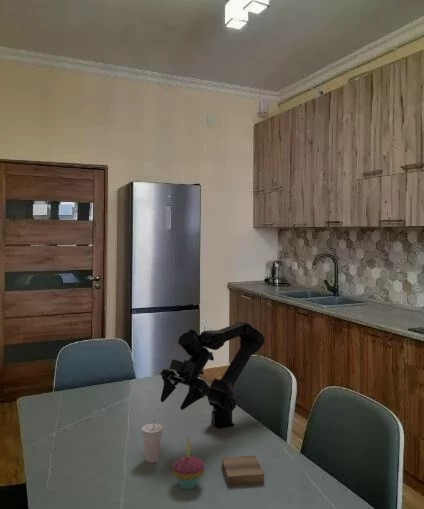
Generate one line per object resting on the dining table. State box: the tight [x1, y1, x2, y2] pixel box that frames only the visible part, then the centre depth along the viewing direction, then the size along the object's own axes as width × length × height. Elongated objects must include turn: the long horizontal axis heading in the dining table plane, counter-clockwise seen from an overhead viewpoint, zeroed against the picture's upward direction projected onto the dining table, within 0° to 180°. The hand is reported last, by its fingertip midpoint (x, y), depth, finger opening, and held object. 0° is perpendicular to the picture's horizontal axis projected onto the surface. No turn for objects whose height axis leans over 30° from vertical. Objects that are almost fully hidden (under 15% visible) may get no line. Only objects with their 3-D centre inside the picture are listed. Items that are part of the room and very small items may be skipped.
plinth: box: [221, 455, 265, 487], centre depth 120 cm, size 10×10×2 cm
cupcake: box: [172, 436, 205, 490], centre depth 114 cm, size 9×8×12 cm
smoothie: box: [141, 412, 164, 463], centre depth 127 cm, size 6×6×14 cm
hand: (171, 405), depth 133 cm, fingers open, 9 cm apart
